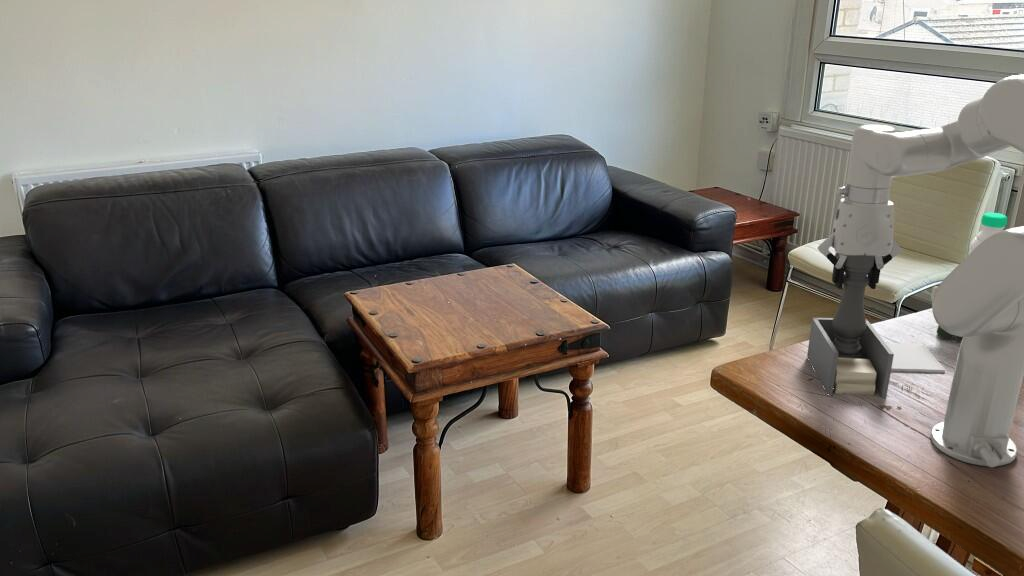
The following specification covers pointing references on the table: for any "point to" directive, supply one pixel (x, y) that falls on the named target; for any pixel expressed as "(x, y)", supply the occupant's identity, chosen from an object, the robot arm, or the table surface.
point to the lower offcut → (854, 388)
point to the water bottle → (989, 228)
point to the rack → (827, 355)
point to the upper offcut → (855, 371)
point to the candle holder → (852, 306)
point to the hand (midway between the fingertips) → (854, 285)
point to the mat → (913, 358)
